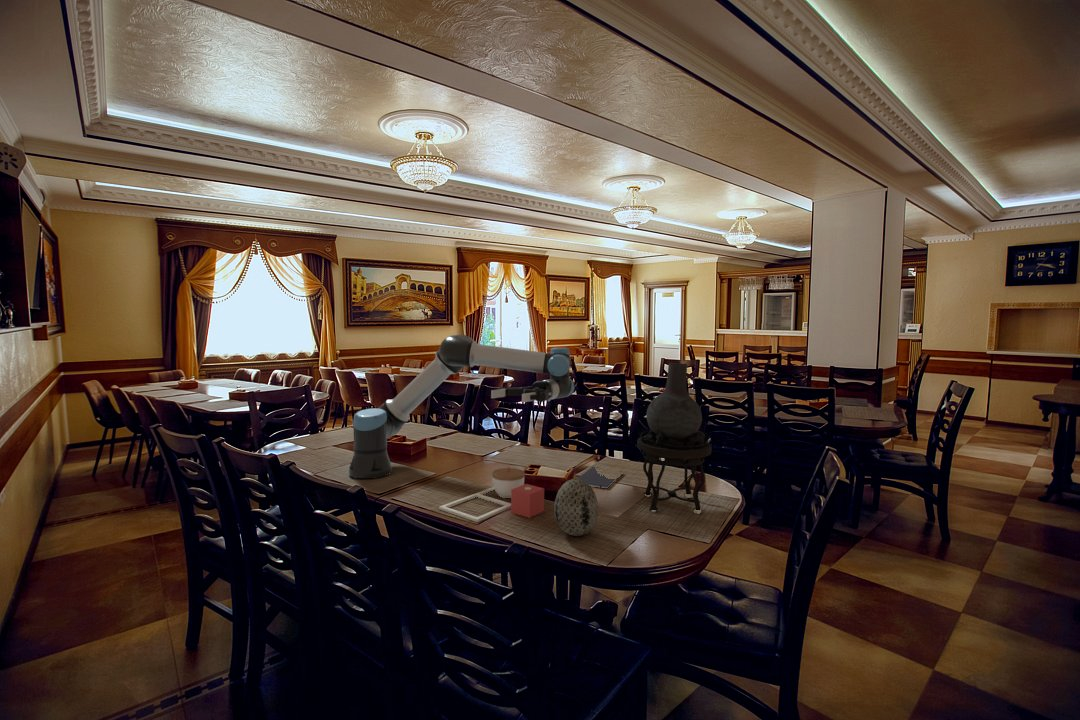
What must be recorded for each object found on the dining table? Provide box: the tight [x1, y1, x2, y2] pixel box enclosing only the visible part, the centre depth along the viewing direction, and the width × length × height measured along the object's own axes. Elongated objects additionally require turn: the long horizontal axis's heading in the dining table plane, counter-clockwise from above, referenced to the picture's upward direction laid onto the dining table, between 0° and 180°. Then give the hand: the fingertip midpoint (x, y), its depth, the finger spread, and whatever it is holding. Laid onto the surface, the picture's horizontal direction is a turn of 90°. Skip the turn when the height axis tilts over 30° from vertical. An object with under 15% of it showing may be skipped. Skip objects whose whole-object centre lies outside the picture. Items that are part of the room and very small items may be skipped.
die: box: [510, 483, 545, 519], centre depth 148 cm, size 7×7×7 cm
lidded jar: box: [491, 466, 526, 499], centre depth 163 cm, size 11×11×9 cm
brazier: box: [636, 362, 713, 511], centre depth 156 cm, size 22×22×45 cm
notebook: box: [576, 466, 615, 489], centre depth 183 cm, size 13×2×21 cm
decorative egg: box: [553, 478, 599, 537], centre depth 133 cm, size 12×12×15 cm
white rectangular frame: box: [438, 486, 511, 523], centre depth 157 cm, size 31×16×1 cm, turn 143°
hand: (506, 396), depth 167 cm, fingers open, 13 cm apart
